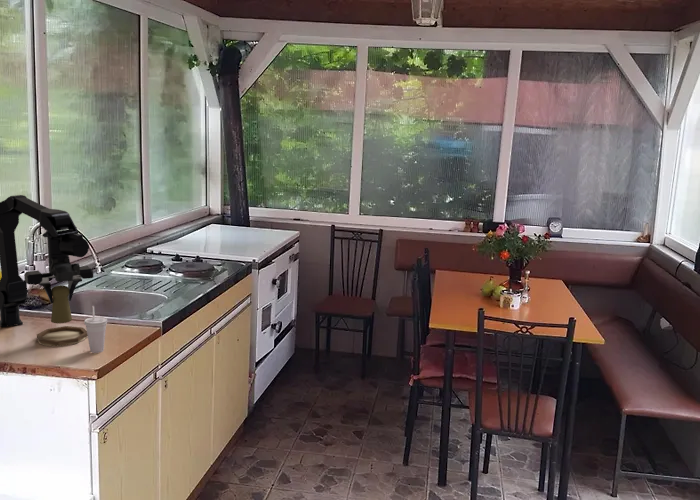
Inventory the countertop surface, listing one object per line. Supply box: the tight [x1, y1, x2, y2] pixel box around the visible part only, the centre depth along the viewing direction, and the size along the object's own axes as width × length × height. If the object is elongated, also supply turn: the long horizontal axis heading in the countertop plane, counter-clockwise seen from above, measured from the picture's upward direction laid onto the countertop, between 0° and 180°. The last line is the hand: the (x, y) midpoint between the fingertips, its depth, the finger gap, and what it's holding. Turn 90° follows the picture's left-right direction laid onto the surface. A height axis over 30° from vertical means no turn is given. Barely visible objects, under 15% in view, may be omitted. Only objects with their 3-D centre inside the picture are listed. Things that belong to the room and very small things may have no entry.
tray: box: [36, 325, 88, 347], centre depth 201 cm, size 14×14×2 cm
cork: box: [50, 284, 73, 324], centre depth 199 cm, size 6×6×11 cm
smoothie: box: [83, 305, 108, 354], centre depth 191 cm, size 6×6×14 cm
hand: (60, 301), depth 199 cm, fingers closed on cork, 5 cm apart
